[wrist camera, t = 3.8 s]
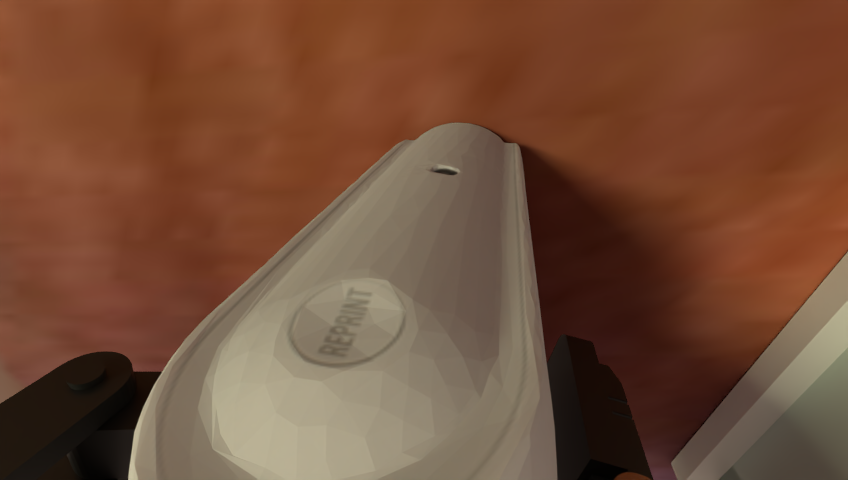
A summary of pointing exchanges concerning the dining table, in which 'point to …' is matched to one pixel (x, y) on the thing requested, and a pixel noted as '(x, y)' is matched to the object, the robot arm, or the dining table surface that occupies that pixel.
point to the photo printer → (374, 338)
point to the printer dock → (785, 403)
